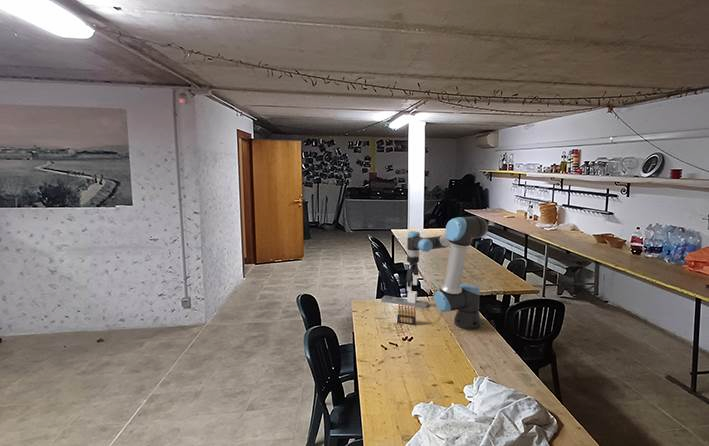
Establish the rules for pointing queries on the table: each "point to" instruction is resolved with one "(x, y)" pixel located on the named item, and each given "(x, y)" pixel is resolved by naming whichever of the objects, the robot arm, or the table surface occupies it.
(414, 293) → the charger
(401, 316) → the ammunition clip
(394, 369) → the table surface
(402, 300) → the strip
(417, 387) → the table surface
